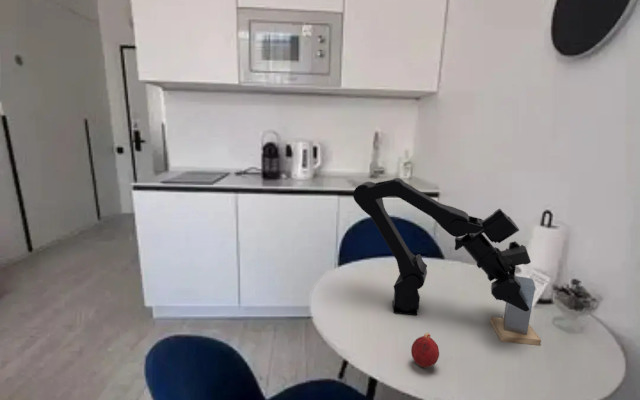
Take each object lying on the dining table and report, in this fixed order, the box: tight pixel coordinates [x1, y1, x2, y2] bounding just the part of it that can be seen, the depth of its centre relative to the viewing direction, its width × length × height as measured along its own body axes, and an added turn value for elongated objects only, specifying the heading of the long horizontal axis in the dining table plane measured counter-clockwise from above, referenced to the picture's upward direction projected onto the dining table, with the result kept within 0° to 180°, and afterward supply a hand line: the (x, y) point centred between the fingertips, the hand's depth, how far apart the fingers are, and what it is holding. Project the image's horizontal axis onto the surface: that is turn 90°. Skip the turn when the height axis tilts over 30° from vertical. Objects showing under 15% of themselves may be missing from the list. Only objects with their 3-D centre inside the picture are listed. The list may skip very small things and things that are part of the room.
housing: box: [502, 275, 536, 335], centre depth 93 cm, size 5×5×13 cm
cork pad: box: [489, 316, 542, 346], centre depth 95 cm, size 9×9×2 cm
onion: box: [410, 332, 440, 368], centre depth 80 cm, size 6×6×8 cm
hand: (525, 301), depth 93 cm, fingers open, 9 cm apart
